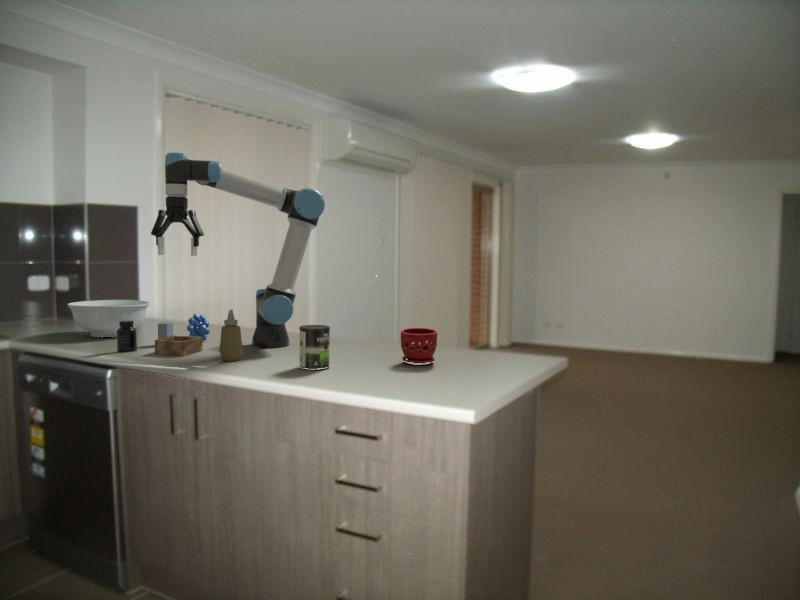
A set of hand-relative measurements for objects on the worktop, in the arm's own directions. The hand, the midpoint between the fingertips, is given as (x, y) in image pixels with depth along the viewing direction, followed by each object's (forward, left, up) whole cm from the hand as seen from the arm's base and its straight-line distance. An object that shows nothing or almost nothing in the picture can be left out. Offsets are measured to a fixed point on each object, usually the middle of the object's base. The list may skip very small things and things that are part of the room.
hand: (177, 255), depth 226 cm
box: (0, 0, -37) cm, 37 cm away
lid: (+14, -12, -37) cm, 41 cm away
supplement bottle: (+20, +3, -37) cm, 42 cm away
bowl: (+54, -30, -37) cm, 72 cm away
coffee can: (-56, +6, -37) cm, 67 cm away
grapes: (+8, -27, -37) cm, 46 cm away
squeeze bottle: (-23, +3, -37) cm, 44 cm away
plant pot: (-88, -13, -37) cm, 96 cm away
